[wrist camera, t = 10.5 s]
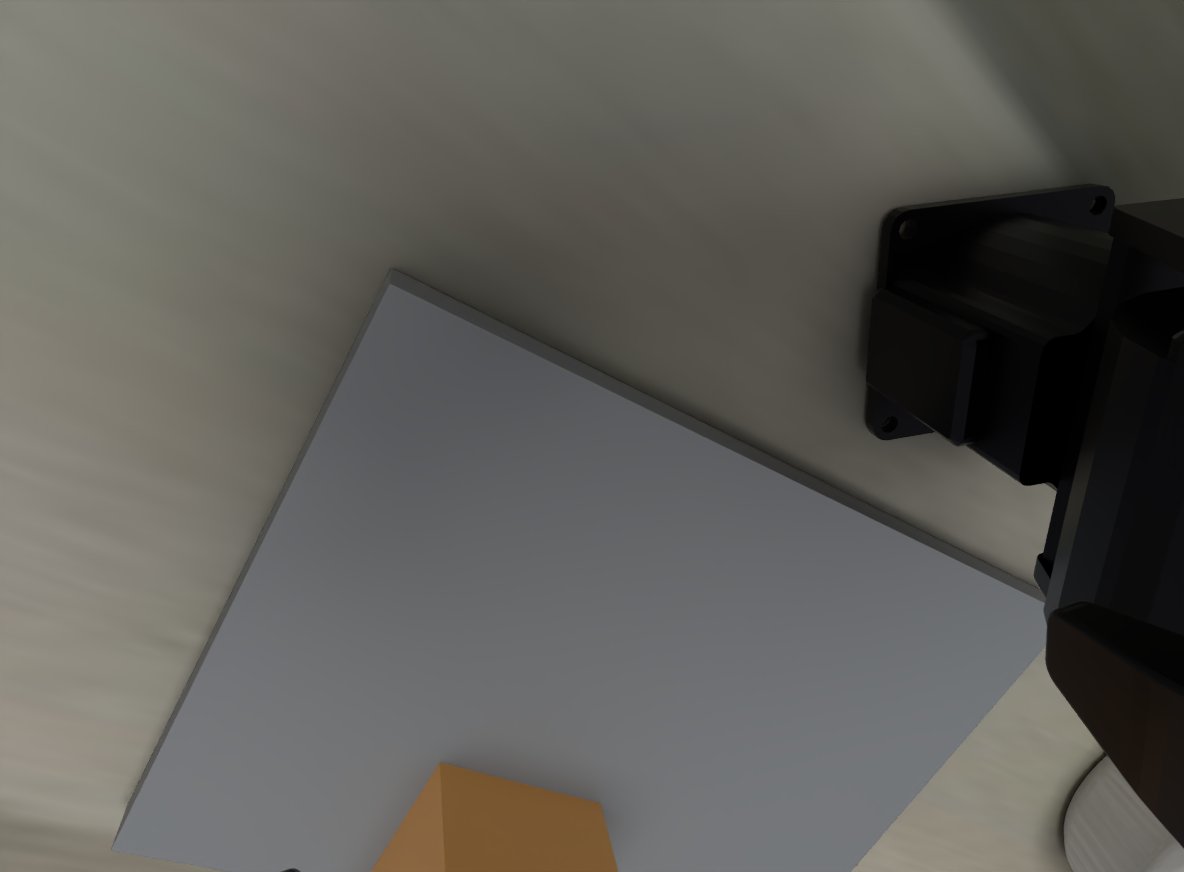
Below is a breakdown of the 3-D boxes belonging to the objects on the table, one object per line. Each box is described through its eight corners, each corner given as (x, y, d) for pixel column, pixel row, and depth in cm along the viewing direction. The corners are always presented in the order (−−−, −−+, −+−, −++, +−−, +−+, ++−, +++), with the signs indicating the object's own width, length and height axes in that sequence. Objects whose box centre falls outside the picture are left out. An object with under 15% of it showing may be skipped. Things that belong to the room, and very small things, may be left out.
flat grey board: (1039, 589, 28) (1071, 616, 27) (752, 931, 33) (767, 968, 31) (390, 267, 19) (389, 283, 17) (127, 806, 24) (110, 851, 22)
